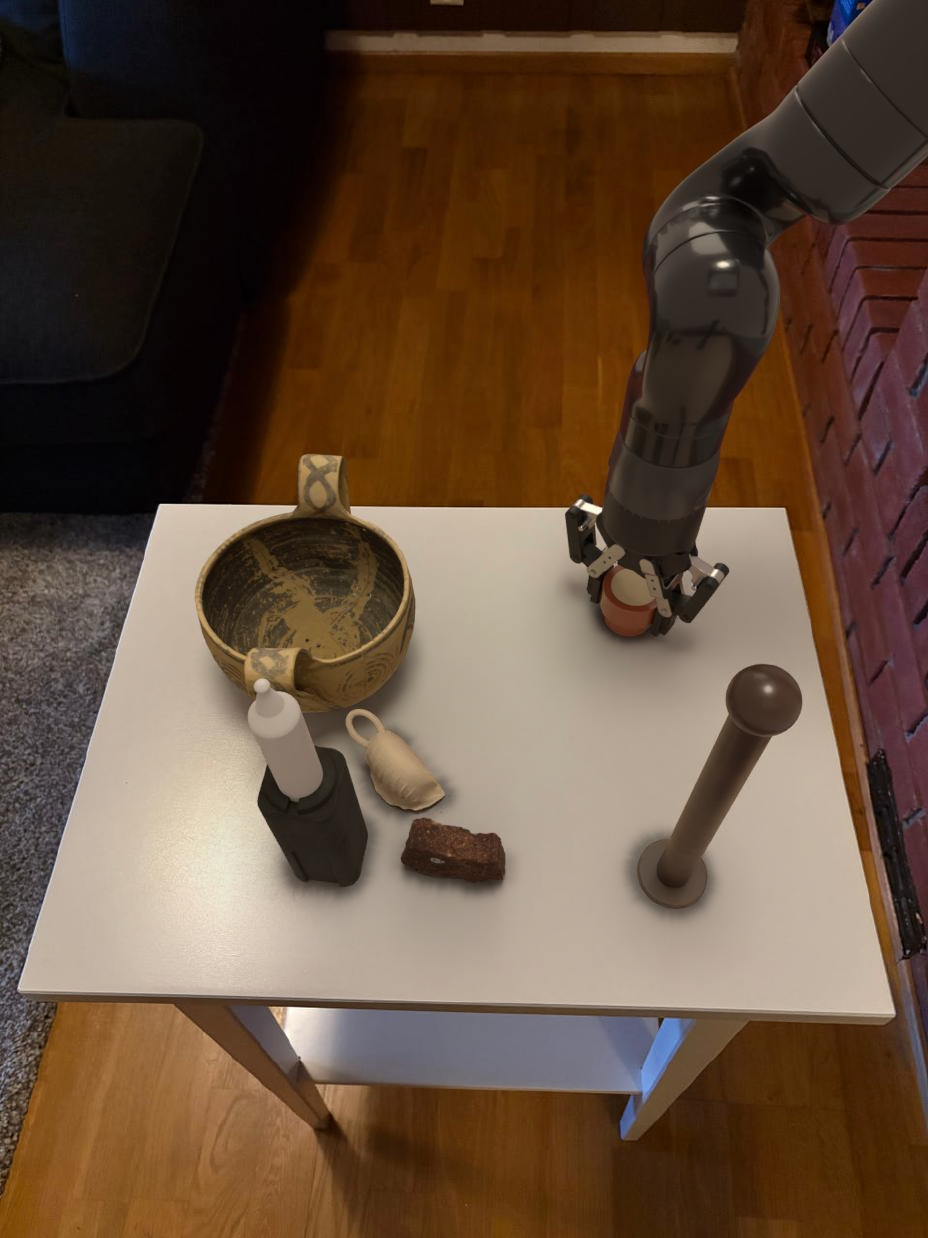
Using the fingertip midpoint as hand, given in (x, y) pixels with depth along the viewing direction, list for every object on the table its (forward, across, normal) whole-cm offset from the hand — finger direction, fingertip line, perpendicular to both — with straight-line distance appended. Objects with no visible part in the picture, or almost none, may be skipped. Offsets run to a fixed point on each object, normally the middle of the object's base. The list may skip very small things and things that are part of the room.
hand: (628, 612), depth 77 cm
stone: (+1, -1, +27) cm, 27 cm away
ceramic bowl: (+1, +19, +19) cm, 27 cm away
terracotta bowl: (+1, 0, 0) cm, 1 cm away
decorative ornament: (+1, +7, +24) cm, 25 cm away
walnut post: (+1, -15, +18) cm, 23 cm away
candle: (+1, +7, +32) cm, 33 cm away
